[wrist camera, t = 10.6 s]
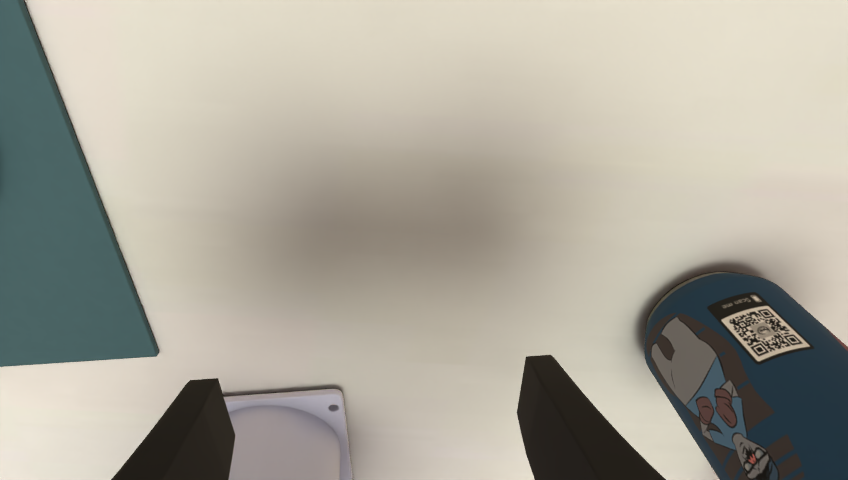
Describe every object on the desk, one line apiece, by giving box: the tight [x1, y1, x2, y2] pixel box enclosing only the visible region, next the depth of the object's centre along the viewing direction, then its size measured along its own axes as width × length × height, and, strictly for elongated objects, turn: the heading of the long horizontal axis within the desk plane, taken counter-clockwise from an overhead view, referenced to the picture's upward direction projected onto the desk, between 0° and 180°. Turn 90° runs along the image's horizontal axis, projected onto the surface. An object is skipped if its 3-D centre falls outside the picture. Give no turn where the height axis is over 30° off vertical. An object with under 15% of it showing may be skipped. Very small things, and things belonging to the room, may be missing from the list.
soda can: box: [644, 272, 848, 480], centre depth 20 cm, size 7×7×12 cm
